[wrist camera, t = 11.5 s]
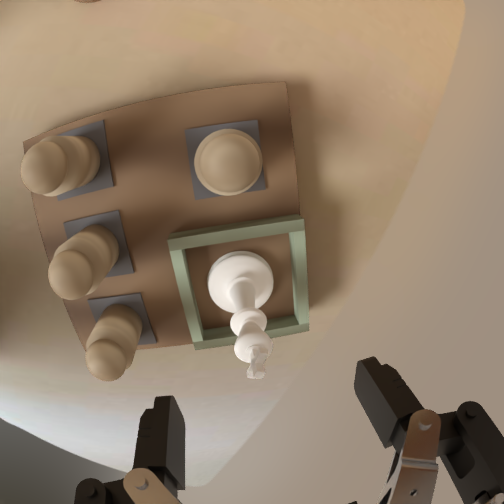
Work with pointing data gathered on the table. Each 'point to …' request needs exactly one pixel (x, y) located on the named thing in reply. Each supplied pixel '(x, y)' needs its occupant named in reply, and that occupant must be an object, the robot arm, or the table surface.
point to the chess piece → (244, 304)
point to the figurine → (86, 1)
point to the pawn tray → (169, 218)
